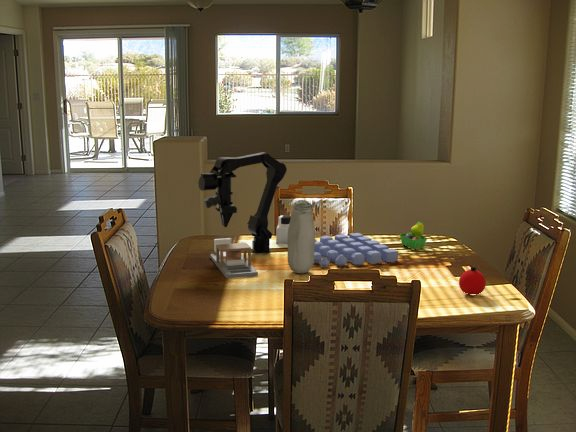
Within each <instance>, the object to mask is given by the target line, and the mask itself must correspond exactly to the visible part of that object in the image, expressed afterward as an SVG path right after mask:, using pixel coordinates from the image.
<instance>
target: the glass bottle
mask: <svg viewBox="0 0 576 432" xmlns="http://www.w3.org/2000/svg"><path fill="white" fill-rule="evenodd" d="M290 216H291V220H290V224H289V228H288V244H287V263H288V267H289V268H290V270H291V271H292V272H293V273H294V274H295V273H296V274H306V273H308V272H310V271H311V269H312V268H313V266H314V264H315V263H314V247H315V239H316V231H315V224H314V219H313V209H312V205H311V203H310V202H309V201H308V200H306V199H300V200H295V202H294V203H293V204H292V207H291V214H290Z"/></svg>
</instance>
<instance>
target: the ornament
mask: <svg viewBox="0 0 576 432" xmlns="http://www.w3.org/2000/svg"><path fill="white" fill-rule="evenodd" d="M458 285H459V288H460V290H461V291H462V293H464V292H465V293H468V294H479V293H480V294H482V293H483V292H484V290H485V288H486V285H487V281H486V278H485V275H484V274H483V273H482V272H480V271H479V270H477V267H475V266H471V267H470V269H468V270H466V271H463V272H462V274H461V275H460V276H459V280H458ZM481 292H482V293H481ZM465 293H464V294H465ZM480 294H479V295H480Z"/></svg>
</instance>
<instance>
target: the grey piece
mask: <svg viewBox="0 0 576 432" xmlns="http://www.w3.org/2000/svg"><path fill="white" fill-rule="evenodd" d="M219 251H220V257H219ZM230 251H241V252H242V251H243V255H242V254H241V259H244V262H245V265H235V266H227V265H226V264H225V263H224V262H223V252H230ZM209 257H210V259H211V260H212V262H213V263H214V264H215V266H216V267H217V268H218V270H219V271H220V273H222V275H223V276H224V277H225V279H238V278H248V277H259V271H257V269H256V268H255V267H254V266H253V264H252V246H250V245H249V244H248V243H247V242H237V243H234V242H233V243H231V244H218V245H216V252H215V253H210V256H209Z"/></svg>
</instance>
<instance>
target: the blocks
mask: <svg viewBox="0 0 576 432" xmlns="http://www.w3.org/2000/svg"><path fill="white" fill-rule="evenodd" d="M364 235H365V234H362V233H360V232H355V233H354V232H353V233H352V232H351V233H349V234H348V235H346V234H343V233H342V234H336V235H334V238H333V237H331V236H329V235H324V236H321V237H320V238H319V241H317V239H316V238H315V247H314V263H313V264H319V265H320V266H321V267H322V269H323V268H326V267H327V266H328V265H329V264H330V263H335V264H336V265H337V266H338V267H345V265H346V264H347V263H348V261H350V263H351V264H352V265H354V266H363V265H364V264H365V262H367V263H368V262H369V263H368V264H370V263H371V264H370V265H376V264H375V263H379V264H381V263H382V261H383V260H384V261H383V262H385V261H386V262H385V263H387V262H391V263H396V262H395V261H399V251H398V250H396V249H394V248H389V246H387V245H385V244H382V243H380V242H379V241H377V240H373V239H372V238H371V237H369V236H364Z"/></svg>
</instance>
